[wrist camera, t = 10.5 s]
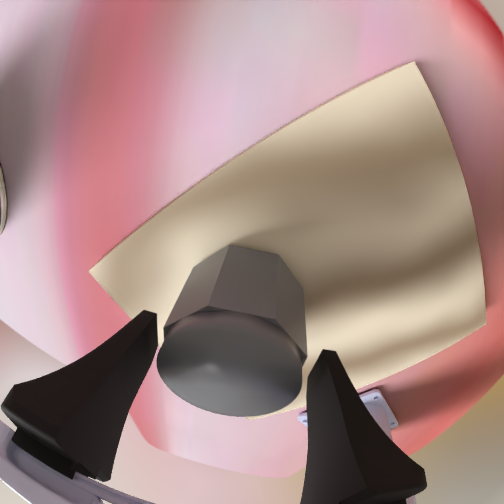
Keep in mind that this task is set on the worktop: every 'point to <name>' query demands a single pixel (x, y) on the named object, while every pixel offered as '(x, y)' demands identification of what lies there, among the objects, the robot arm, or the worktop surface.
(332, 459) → the robot arm
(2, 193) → the coffee can
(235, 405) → the cap
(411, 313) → the beige cloth
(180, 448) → the worktop surface
